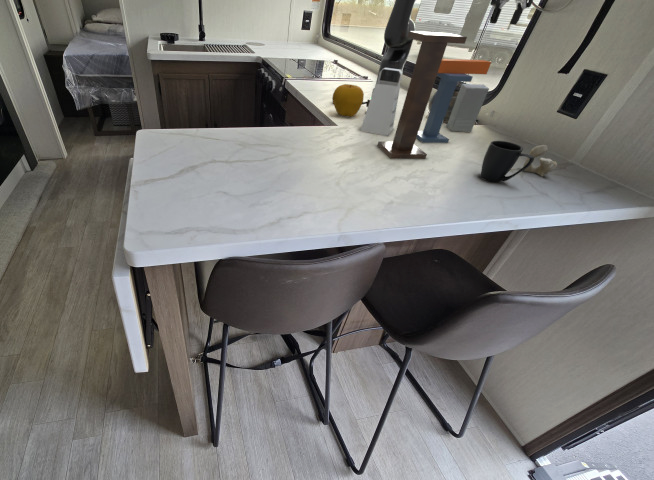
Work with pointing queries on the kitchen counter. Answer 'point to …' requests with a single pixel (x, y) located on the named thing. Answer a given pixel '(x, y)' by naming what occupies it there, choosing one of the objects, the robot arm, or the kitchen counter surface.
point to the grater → (382, 107)
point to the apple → (347, 99)
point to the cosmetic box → (467, 107)
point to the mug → (502, 161)
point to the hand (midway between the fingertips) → (502, 23)
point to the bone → (545, 163)
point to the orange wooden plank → (464, 66)
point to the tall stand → (418, 93)
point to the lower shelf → (441, 107)
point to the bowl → (449, 104)
